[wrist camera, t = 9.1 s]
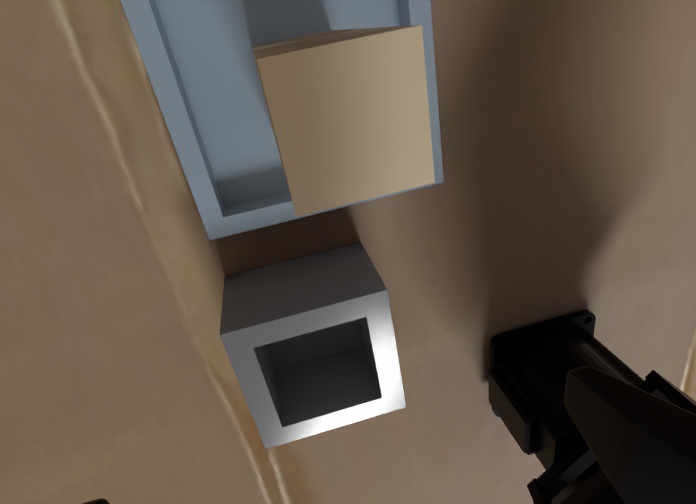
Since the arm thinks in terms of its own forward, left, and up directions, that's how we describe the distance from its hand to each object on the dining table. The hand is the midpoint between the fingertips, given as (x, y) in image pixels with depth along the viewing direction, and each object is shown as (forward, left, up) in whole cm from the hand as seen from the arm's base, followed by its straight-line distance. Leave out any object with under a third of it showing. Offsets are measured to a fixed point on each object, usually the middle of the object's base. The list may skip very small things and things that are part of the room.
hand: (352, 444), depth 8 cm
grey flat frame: (-1, -5, -13) cm, 14 cm away
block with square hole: (+1, +6, -13) cm, 14 cm away
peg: (-2, -5, -12) cm, 13 cm away
